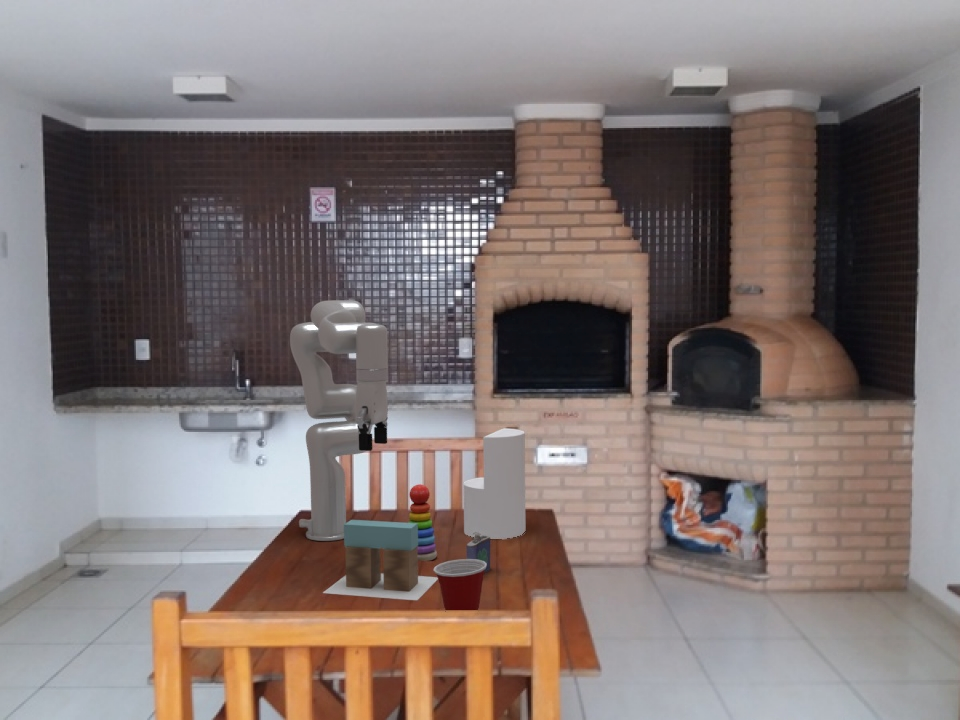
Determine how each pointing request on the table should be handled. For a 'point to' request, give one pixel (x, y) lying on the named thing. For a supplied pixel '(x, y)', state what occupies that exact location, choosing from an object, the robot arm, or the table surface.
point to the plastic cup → (461, 583)
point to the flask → (479, 549)
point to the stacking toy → (422, 522)
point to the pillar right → (400, 569)
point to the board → (379, 591)
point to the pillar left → (362, 567)
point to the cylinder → (498, 488)
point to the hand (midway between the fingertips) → (373, 446)
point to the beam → (381, 535)
